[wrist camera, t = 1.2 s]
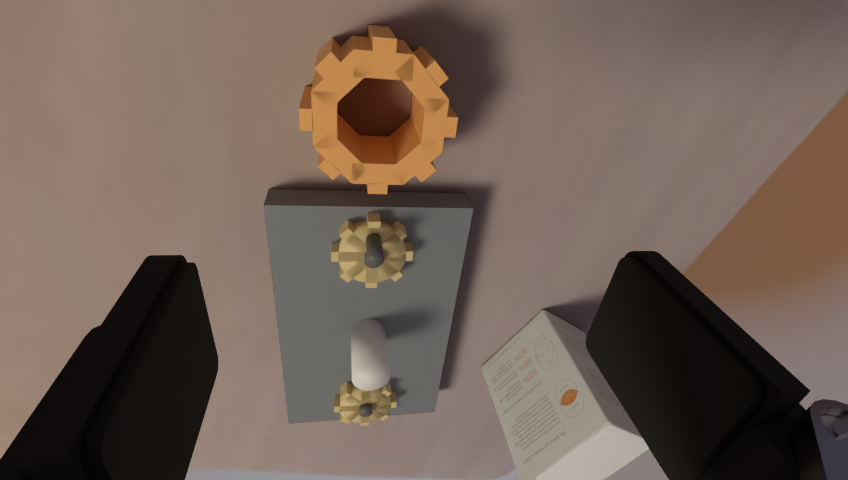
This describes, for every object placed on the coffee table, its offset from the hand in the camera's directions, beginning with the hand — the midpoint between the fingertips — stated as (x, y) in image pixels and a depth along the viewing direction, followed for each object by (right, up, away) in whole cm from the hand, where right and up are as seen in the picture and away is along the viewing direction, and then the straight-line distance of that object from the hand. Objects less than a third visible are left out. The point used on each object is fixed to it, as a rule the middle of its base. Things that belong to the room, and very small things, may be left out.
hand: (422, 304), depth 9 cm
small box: (+9, -8, +27) cm, 30 cm away
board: (-4, -4, +22) cm, 22 cm away
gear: (-3, +9, +13) cm, 16 cm away
